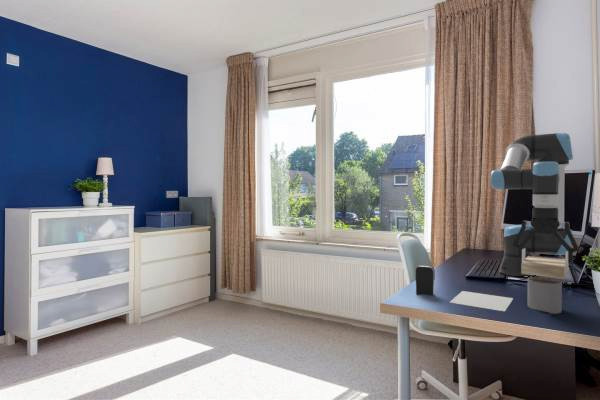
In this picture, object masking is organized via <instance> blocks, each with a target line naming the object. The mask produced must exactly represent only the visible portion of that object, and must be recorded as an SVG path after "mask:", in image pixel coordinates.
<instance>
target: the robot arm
mask: <svg viewBox="0 0 600 400" xmlns="http://www.w3.org/2000/svg"><path fill="white" fill-rule="evenodd" d="M573 159H574V156H573V147H572V142H571V136H570V134H569V133H566V132H562V133H561V132H555V133H546V134H545V133H542V134H532V135H531V134H529V135H524V136H522V137H520V138H518V139H516V140H514V141H512V142H511V143H510V144H509V145H508V146H507V147H506V149H505V152H504V160H503V161H502V165H501V167H500V168H499V169H493V170H491V173H490V186H491V188H492V189H493V190H532V206H533V208H532V211H531V214H532V218H531V221H529V220H522V221H521V224H514V225H508V226H506V227H504V230H503V236H502V237H503V258H502V261H501V264H500V266H499V273H500V272H501V273H504V274H506V275H505V276H508V275H513V276H512V277H514V276H533V275H527V274H521V264H522V262H523V261H524V260H525V259H526V258H527V256H531V257H533V254H540V255H541V254H542V255H554V256H565V257H564V259H565V272H566V273H569V263H573V254H574V253H575V252H576V253H577V252H579V251H580V246H579V245H578V243H577V240H576V239H575V237H574V235H573V229H571V228H570V222H569V221H565V171H566V168H567V166H569V165H570V161H571V160H572V161H573ZM525 162H534V163H533V165H532V168H524V165H525ZM570 245H571V246H572V247H571V246H570ZM501 273H500V274H501ZM504 274H503V275H504Z"/></svg>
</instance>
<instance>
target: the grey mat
mask: <svg viewBox="0 0 600 400" xmlns="http://www.w3.org/2000/svg"><path fill="white" fill-rule="evenodd" d="M513 299H514V298H513V297H506V296H500V295H494V294H493V295H492V294H485V293H479V292H471V291H465V290H462V291H460V293H458V294H457V295H455V296H454V298H453V299H452V300H450V301H449V303H451V304H457V305H461V306H462V305H463V306H469V307H475V308H481V309H488V310H494V311H499V312H504V313H505V312H506V311H507V310H508V308H509V306H510V304H511V303H512V301H513Z"/></svg>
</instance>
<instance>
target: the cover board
mask: <svg viewBox="0 0 600 400" xmlns="http://www.w3.org/2000/svg"><path fill="white" fill-rule="evenodd" d="M521 274H527V275H536V276H535V277H548V278H554V279H565V277H566V274H567V272H565V258H555V257H554V258H552V257H542V256H541V257H540V256H532V257H531V256H527V258H526V259H525V260H524V261H523V262H522V264H521Z"/></svg>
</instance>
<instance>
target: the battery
mask: <svg viewBox="0 0 600 400" xmlns="http://www.w3.org/2000/svg"><path fill="white" fill-rule="evenodd" d="M435 280H436V271H435V268H434V267H433V266H431V265H421V264H420V265H418V266H416V267H415V294H416V295H419V296H420V295H426V296H434V295H435Z"/></svg>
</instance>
